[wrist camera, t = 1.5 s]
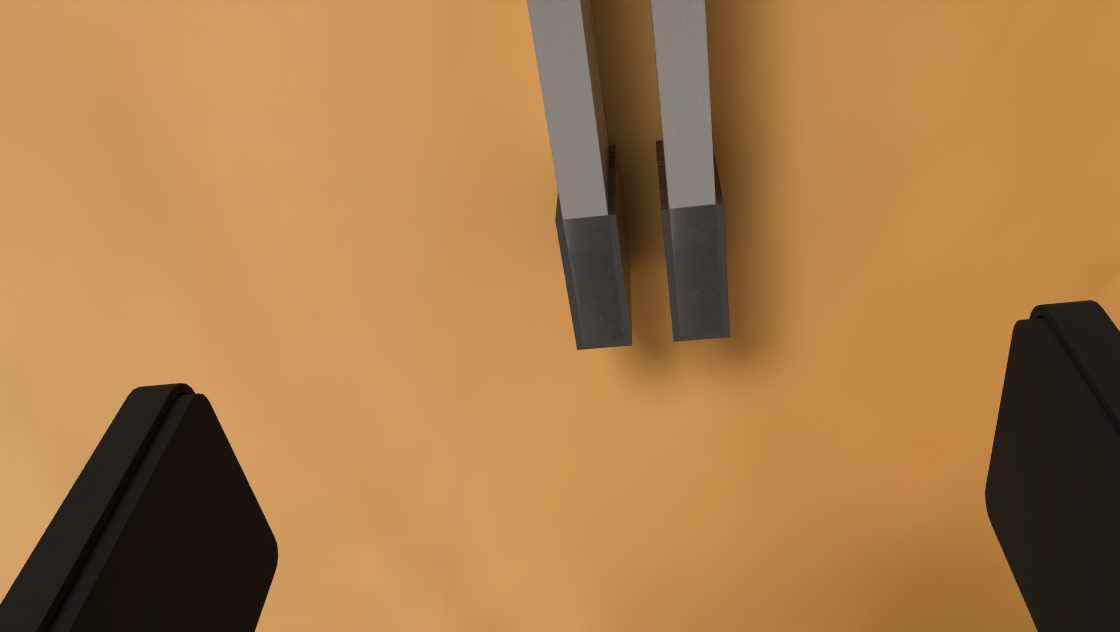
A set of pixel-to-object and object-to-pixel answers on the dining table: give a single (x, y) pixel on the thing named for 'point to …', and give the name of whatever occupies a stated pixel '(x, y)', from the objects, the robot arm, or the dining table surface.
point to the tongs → (593, 177)
